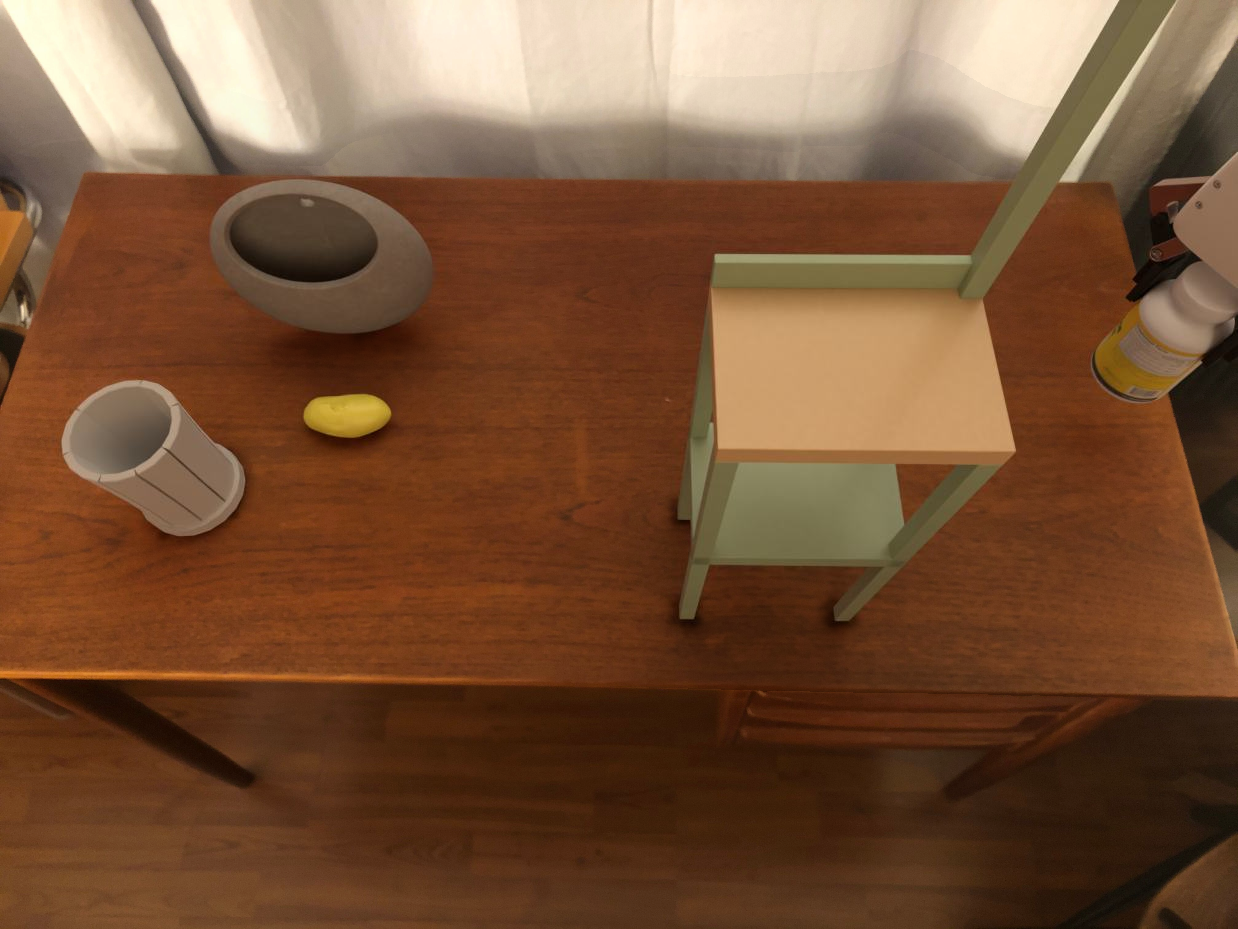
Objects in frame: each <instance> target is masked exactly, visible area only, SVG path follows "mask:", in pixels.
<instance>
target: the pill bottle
mask: <svg viewBox="0 0 1238 929" xmlns="http://www.w3.org/2000/svg"><path fill="white" fill-rule="evenodd" d="M1237 316H1238V289H1237V288H1236V287H1235V286H1234V285H1232V284H1231V283H1230V282H1229V281H1227V280H1226V279H1225V278H1224V277H1222V276H1221V275H1220V274H1219V273H1218V272H1216V271H1215V270H1214V269H1213V268H1211V267H1210V266H1209V265H1208V264H1207V263H1205V262H1204V261H1203V260H1200V261H1196V262H1194V263H1191V264H1189V265H1188V266H1187V267H1186V268H1185V269H1184V270H1183V271H1182V272H1181V273H1180V274H1179V275H1177V277H1176V278H1174V279H1166V280H1165V281H1164V282H1161V283H1159V284H1157V285H1155V286H1154V287H1152V288H1151V289H1150V290H1149V291H1148V292H1147V293H1146V294H1145V295H1144V296H1143V297H1142V298H1141V299H1139V300H1138V301H1136V304H1135V305H1133V307H1132V308H1131V309H1130V310H1129V311H1128V312H1127V313H1126V314H1125V315H1124V317H1122V319H1121V320H1120V321H1119V322H1118V323H1117V324H1116V325H1115V326H1114V328H1112V329H1111V331H1110V332H1109V333H1108V334H1107V336H1105V337H1104V338H1103V339H1102V341H1101V342H1100V343H1099V344H1098V345H1097V346H1096V347H1095V349H1094V351H1093V353H1092V354H1091V358H1090V371H1091V374H1092V376H1093V378H1094V380H1095V382H1096V383H1097V385H1099V387H1100V388H1101V389H1102V390H1103V391H1105V392H1106V393H1107V394H1108V395H1110V396H1111V397H1113V398H1116V399H1118V400H1119V401H1123V402H1126V403H1131V404H1148V403H1152V402H1155V401H1158V400H1159V399H1162V398H1163V397H1165V395H1167V394H1168V393H1169V392H1170V391H1171V390H1173V389H1174V388H1175V387H1176V386H1177V385H1178V384H1179V383H1180V382H1182V381H1183V380H1185V378H1186V377H1188V376H1189V375H1190V374H1191V373H1193V371H1195V370H1196V369H1197V368H1198V367H1199V366H1200V365H1202V364H1201V363H1202V362H1201V360H1202V359H1203V358H1204V357H1205V356H1206V355H1208V354H1209V353H1210V352H1211V351H1212V350H1213V349H1214V348H1216V347H1217V346H1218V345H1219V344H1220V343H1221V342H1222V341H1224V340H1225V339H1226V338H1227V337H1228V336H1229V335H1230V334H1232V333H1233V332H1234V329H1235V324H1236V320H1235V318H1236V317H1237Z"/></svg>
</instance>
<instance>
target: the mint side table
mask: <svg viewBox="0 0 1238 929" xmlns="http://www.w3.org/2000/svg"><path fill="white" fill-rule="evenodd" d="M1176 2H1177V0H1118V1H1117V3H1116V6H1115V7H1113V10H1112V12H1111V13H1110V15H1109V16H1108V18H1107V20H1106V22H1105V23H1104V26H1103V27H1102V29H1101V30H1100V32H1099V34H1098V36H1097V37H1096V39H1095V41H1094V43H1093V44H1092V46H1091V48H1090V49H1089V51H1088V53H1087V55H1086V57H1085V58H1084V60H1083V61H1082V63H1081V65H1080V66H1079V68H1078V70H1077V72H1076V73H1075V75H1074V76H1073V79H1072V81H1071V82H1070V83H1069V86H1068V88H1067V89H1066V90H1065V93H1064V94H1063V96H1062V97H1061V99H1060V101H1059V103H1058V105H1057V106H1056V108H1055V110H1054V111H1053V113H1052V115H1051V116H1050V118H1049V120H1048V122H1047V123H1046V125H1045V127H1044V128H1043V131H1042V132H1041V134H1040V136H1039V137H1038V139H1037V141H1036V142H1035V143H1034V146H1033V147H1032V149H1031V151H1030V153H1029V155H1028V156H1027V158H1026V160H1025V162H1024V163H1023V164H1022V166H1021V168H1020V170H1019V171H1018V173H1017V175H1016V177H1015V179H1014V181H1012V184H1011V185H1010V187H1009V189H1008V191H1007V192H1006V194H1005V196H1004V198H1003V199H1002V201H1001V203H1000V204H999V206H998V208H997V210H996V212H995V213H994V215H993V216H992V218H991V220H990V222H989V223H988V225H987V227H986V228H985V230H984V231H983V234H982V235H981V237H980V239H979V241H978V242H977V244H976V245H975V248H974V249H973V251H972V252H971V254H823V253H822V254H821V253H820V254H819V253H818V254H816V253H815V254H811V253H809V254H807V253H806V254H803V253H802V254H801V253H714V255H713V261H712V267H711V274H710V281H709V288H708V296H707V301H706V302H707V303H706V309H705V317H704V323H703V330H702V336H701V344H700V351H699V358H698V363H697V369H696V370H697V371H696V378H695V385H694V386H695V387H694V391H693V398H692V405H691V412H690V413H691V414H690V419H689V426H688V432H687V440H686V446H685V454H684V461H683V467H682V473H681V474H682V475H681V481H680V488H679V494H678V495H679V496H678V501H677V521H678V520H679V521H688V520H689V521H690V552H689V556H688V562H687V566H686V571H685V575H684V581H683V585H682V589H681V595H680V598H679V603H678V618H679V619H680V620H694V619H695V616H696V612H697V609H698V605H699V602H700V598H701V595H702V592H703V588H704V585H705V581H706V577H707V574H708V571H709V568H710V565H711V566H712V565H713V566H786V567H787V566H790V567H793V566H794V567H866V569H865V570H864V571H863V572H862V574H861V575H860V576H859V577H858V578H857V579H856V580H855V582H854V583H852V585H851V586H850V587H849V588H848V589H847V591H846V592H845V593H844V594H843V595H842V597H841V598H840V599H839V600H838V601H837V602H836V603H835V605H833V607H832V608H833V617H834V621H835V622H849V621H850V620H851V619H852V618H854V616H855V615H856V614H857V613H859V611H860V610H861V609H862V608H864V606H865V605H866V604H867V603H868V602H869V601H870V600H871V599H872V598H873V597H874V596H875V595H877V593H878V592H879V591H880V590H881V589H882V588H883V587H884V586H885V585H886V584H887V583H888V582H889V581H890V580H891V579H892V578H893V577H894V576H895V575H896V574H897V573H898V572H899V571H900V570H901V569H902V568H903V567H904V566H905V565H906V564H907V563H908V562H909V561H910V560H911V559H912V558H913V557H914V556H915V555H916V554H917V553H918V552H919V551H920V550H921V548H923V547H924V545H925V544H927V542H928V541H929V540H930V539H932V537H934V535H935V534H936V533H937V532H938V531H939V530H940V529H941V528H943V526H944V525H946V523H948V521H949V520H951V518H952V517H953V516H954V515H955V514H956V513H957V512H959V510H960V509H962V507H963V506H964V505H965V504H966V503H967V502H968V501H969V500H971V498H972V497H973V496H974V495H976V493H977V492H978V491H979V490H980V489H981V488H982V487H983V486H984V485H985V484H987V482H988V481H989V480H990V479H991V478H992V477H993V476H994V475H995V474H996V473H997V471H998V470H1000V469H1001V468H1002V467H1003V465H1005V464H1006V463H1007V461H1009V460H1010V459H1011V458H1012V457H1013V455H1015V454H1016V453H1017V449H1016V445H1015V440H1014V435H1013V432H1012V427H1011V422H1010V417H1009V412H1008V409H1007V403H1006V398H1005V395H1004V389H1003V386H1002V382H1001V377H1000V373H999V368H998V363H997V359H996V354H995V349H994V344H993V341H992V334H991V331H990V326H989V323H988V322H989V321H988V317H987V313H986V309H985V308H986V307H985V303H984V298H985V296H986V295H987V293H988V291H990V289H991V287H992V285H993V284H994V282H995V281H996V279H997V278H998V276H999V274H1000V273H1001V272H1002V270H1003V269H1004V267H1005V265H1006V264H1007V262H1008V261H1009V259H1010V258H1011V256H1012V255H1013V253H1014V252H1015V250H1016V249H1017V247H1018V245H1019V244H1020V242H1021V241H1022V239H1023V238H1024V236H1025V234H1026V233H1027V231H1028V230H1029V229H1030V227H1031V225H1032V224H1033V222H1034V221H1035V219H1036V217H1037V216H1038V214H1039V213H1040V212H1041V210H1042V208H1043V207H1044V205H1045V204H1046V202H1047V201H1048V199H1049V197H1051V195H1052V194H1053V191H1054V190H1055V189H1056V187H1057V185H1058V183H1059V182H1060V180H1061V179H1062V177H1063V176H1064V174H1065V173H1066V171H1067V170H1068V168H1069V167H1070V165H1071V164H1072V163H1073V160H1074V159H1075V158H1076V156H1077V154H1078V153H1079V151H1080V150H1081V148H1082V147H1083V145H1084V144H1085V142H1086V141H1087V139H1088V137H1089V136H1090V134H1091V133H1092V131H1093V130H1094V128H1095V127H1096V125H1097V123H1099V121H1100V119H1101V117H1102V116H1103V114H1104V113H1105V111H1106V110H1107V108H1108V106H1110V104H1111V102H1112V100H1113V99H1114V97H1115V96H1116V94H1117V93H1118V91H1119V90H1120V89H1121V87H1122V85H1123V83H1124V82H1125V81H1126V79H1127V77H1128V76H1129V74H1130V73H1131V71H1132V70H1133V68H1134V67H1135V66H1136V64H1137V62H1138V60H1139V59H1140V57H1141V56H1142V55H1143V53H1144V51H1145V50H1146V48H1147V47H1148V45H1149V43H1150V42H1151V40H1152V39H1153V38H1154V36H1155V35H1156V33H1157V31H1158V30H1159V29H1160V27H1161V25H1162V23H1163V22H1164V21H1165V19H1166V18H1167V16H1168V15H1169V13H1170V12H1171V10H1172V9H1173V7H1174V5H1175V4H1176ZM711 420H712V422H711ZM896 465H954V467H953V468H952V469H951V470H950V471H949V473H948V474H947V475H946V476H945V478H943V480H942V481H941V482H940V483H939V485H938V486H937V487H936V488H935V489H934V490H933V491H932V492H931V494H930V495H929V496H928V497H927V498H926V499H925V500H924V501H923V503H922V504H921V505H920V506H919V507H918V508H917V509H916V511H915V512H914V514H913V515H912V516H911V517H910V518H909V519H908V520H907V521H906V522H905V520H904V513H903V507H902V500H901V492H900V485H899V479H898V472H897V466H896Z"/></svg>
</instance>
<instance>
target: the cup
mask: <svg viewBox="0 0 1238 929" xmlns="http://www.w3.org/2000/svg"><path fill="white" fill-rule="evenodd" d="M61 437H62V438H61V441H60V442H61V452H62V457H63V459H64V461H65V463H66V464H67V466H68V467H69V469H70V471H72V472H74V473H75V474H76V475H77V476H79V477H80V478H81V479H83V480H86V481H87V482H89V483H92V484H93V485H95V486H97V487H99V488H101V489H102V490H105V491H107V492H109V493H110V494H112V495H113V496H116V497H117V498H120V499H121V500H123V501H125V502H126V503H128V504H130V505H132V506H134V507H135V508H136V509H138V510H140V511H141V513H142V514H143V516H144V517H145V520H147V521H148V522H149V523H151V524H152V525H153V526H155V527H156V528H157V529H159V530H160V531H162V532H163V533H166V534H170V535H172V536H177V537H187V536H188V537H190V536H197V535H200V534H203V533H206V532H209V531H212V530H213V529H214V528H216V527H218V526H219V525H221V524H222V523H223V522H225V521H226V520H227V519H228V518H229V517H230V516H231V515H232V514H233V512H235V511H236V509H237V508H238V505H239V504H240V502H241V500H242V498H243V497H244V493H245V487H246V476H245V471H244V467H243V465H242V464H241V463H240V461H239V459H238V458H237V457H236V455H235V454H233V452H232V451H230V450H228V448H226V447H224V446H223V445H221V444H220V443H216V442H215V441H213V439H211V438H210V436H208V434H207V433H206V432H205V431H203V429H202V428H201V427H200V425H199V424H197V422H196V421H195V420H194V419H193V418H192V417H191V415H190V414H189V413H188V411H187V410H186V409H185V408H184V407H183V405H182V404H181V403H180V402H179V401H178V399H177V398H176V396H175V395H174V394H173V393H172V392H171V391H170V390H169V389H167V388H165V387H164V386H163V385H161V384H160V383H156V382H153V381H148V380H144V379H143V380H142V379H133V380H123V381H119V382H116V383H113V384H110V385H107V386H105V387H103V388H101V389H99V390H98V391H96V392H94V393H92V394H90V395H89V396H88V397H87V398H86V399H85V400H83V401H82V402H81V403H80V404H79V405H78V406H77V407H76V409H75V410H74V411H73V412H72V414H71V416H70V417H69V419H68V420H67V421H66V424H65V426H64V430H63V433H62V436H61Z"/></svg>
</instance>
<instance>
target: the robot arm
mask: <svg viewBox="0 0 1238 929" xmlns="http://www.w3.org/2000/svg"><path fill="white" fill-rule="evenodd" d="M1148 200H1149V208H1150V209H1149V210H1150V213H1151V214H1152V217H1151V218H1150V219H1149V227H1150V235H1151V242H1152V247H1150V249H1149V250H1148V257H1149V259H1148V260H1147V261H1146V263H1144V265H1143V266H1142V267H1141V268H1140V270H1138V271H1137V272H1136V274H1135V275H1134V276H1133V277H1132V278H1131V279H1132V281H1133V283H1135V285H1134V286H1133V288H1132V289H1131V290H1130V291H1129V292H1128V293H1127V294H1126V296H1125V297H1124V298H1125V299H1126V300H1127V301H1128V302H1129V303H1131V302H1132V303H1137V302H1138V301H1139V300H1140V299H1141V298H1142V297H1143V296H1144V295H1145V294H1146V293H1147V292H1148V291H1149V290H1150V289H1151V288H1152V287H1154V286H1155V285H1157V284H1159V283H1161V282H1164V281H1167V280H1168V278H1169V277H1170V276H1171V275H1172V274H1173V273H1174V271H1176V270H1177V269H1178V267H1179V266H1180V265H1181V264H1182V263H1183V262H1184V261H1185V260H1186V259H1187V257H1188V255H1187V254H1188V253H1189V252H1190V251H1191V253H1193V254H1195V255H1196V256H1197V257H1198V258H1199V259H1200V260H1201V261H1204V262H1205V263H1207V264H1208V265H1209V266H1210V267H1211V268H1213V269H1214V270H1215V271H1216V272H1218V273H1219V274H1220V275H1221V276H1222V277H1224V278H1225V279H1226V280H1227V281H1229V282H1230V283H1231V284H1232V285H1234V286H1235V287H1236V288H1237V289H1238V151H1236V153H1235V154H1233V156H1231V158H1229V159H1228V160H1227V161H1226V162H1225V163H1224V164H1223V165H1222V166H1221V167H1220V168H1219V169H1218V170H1217V171H1216V172H1215V173H1214V174H1213V175H1206V176H1205V175H1204V176H1193V177H1192V176H1191V177H1178V178H1177V177H1176V178H1165V179H1162V180H1160V181H1158V182H1157V183H1156V184H1154V185H1152V186H1150V187H1149V189H1148ZM1179 202H1185V204H1184V205H1183V206H1182V208H1181V209H1180V208H1178V206H1179ZM1222 359H1223V360H1224V361H1226V362H1227V363H1228V364H1230V365H1231V364H1232V363H1233V362H1236V361H1237V360H1238V328H1237V329H1236V330H1233V332H1232V334H1230V335H1229V336H1228V337H1227V338H1226V339H1225V340H1224V341H1222V342H1221V343H1220V344H1219V345H1218V346H1217V347H1216V348H1214V349H1213V350H1212V351H1211V352H1210V353H1209V354H1208V355H1206V356H1205V357H1204V358H1203V359H1202V360H1201V362H1202V363H1201V364H1200V365H1201V366H1202V367H1203V368H1205V369H1209V368H1210V367H1212V366H1214V365H1215V364H1216V363H1218V362H1219V361H1221V360H1222Z"/></svg>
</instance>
